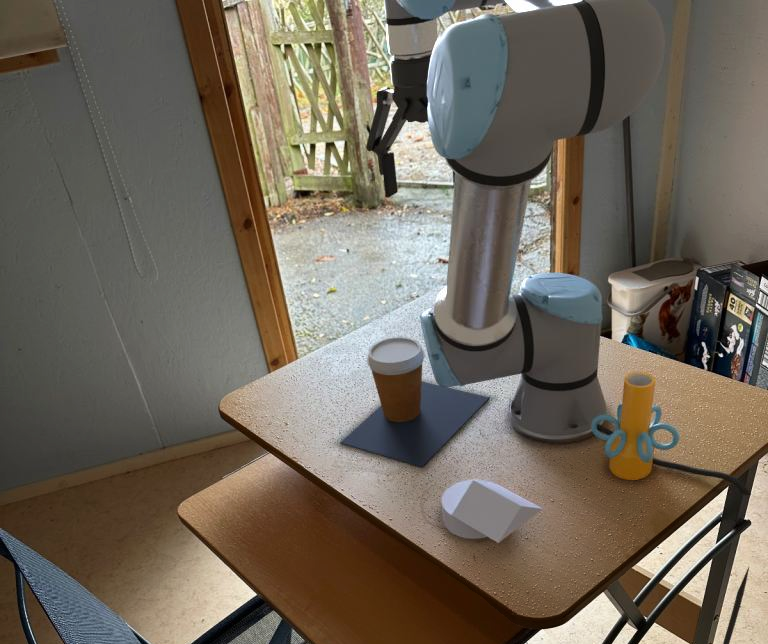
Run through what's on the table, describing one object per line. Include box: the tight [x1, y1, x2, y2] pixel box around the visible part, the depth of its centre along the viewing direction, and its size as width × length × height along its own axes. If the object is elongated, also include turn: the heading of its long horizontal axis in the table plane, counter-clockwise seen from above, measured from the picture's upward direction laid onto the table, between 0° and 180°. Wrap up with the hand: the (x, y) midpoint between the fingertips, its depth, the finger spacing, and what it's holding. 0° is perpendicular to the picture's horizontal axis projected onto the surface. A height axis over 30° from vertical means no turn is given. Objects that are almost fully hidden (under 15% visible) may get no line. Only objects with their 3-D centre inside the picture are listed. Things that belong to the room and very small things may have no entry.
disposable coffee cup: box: [366, 336, 426, 422], centre depth 129 cm, size 10×10×12 cm
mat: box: [339, 381, 490, 469], centre depth 130 cm, size 16×22×1 cm
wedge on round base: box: [441, 478, 544, 544], centre depth 106 cm, size 9×7×13 cm
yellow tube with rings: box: [591, 371, 680, 481], centre depth 109 cm, size 12×10×15 cm
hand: (425, 198), depth 130 cm, fingers open, 13 cm apart
